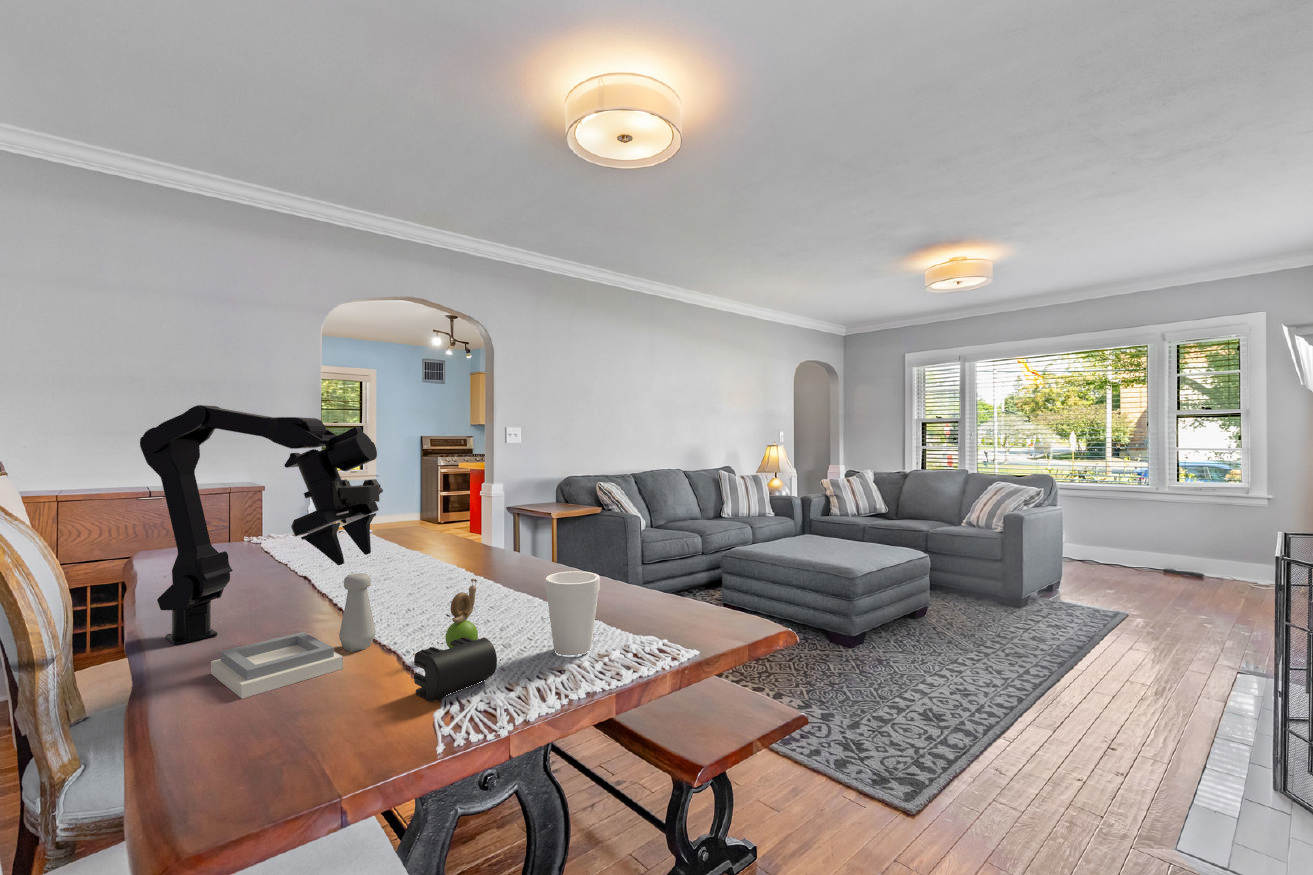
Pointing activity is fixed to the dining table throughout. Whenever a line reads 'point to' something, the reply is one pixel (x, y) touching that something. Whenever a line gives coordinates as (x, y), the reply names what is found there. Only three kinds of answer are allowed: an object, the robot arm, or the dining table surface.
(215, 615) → the dining table surface
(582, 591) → the foam cup
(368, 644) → the salt shaker
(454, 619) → the snail figurine
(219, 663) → the display plinth
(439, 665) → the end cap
